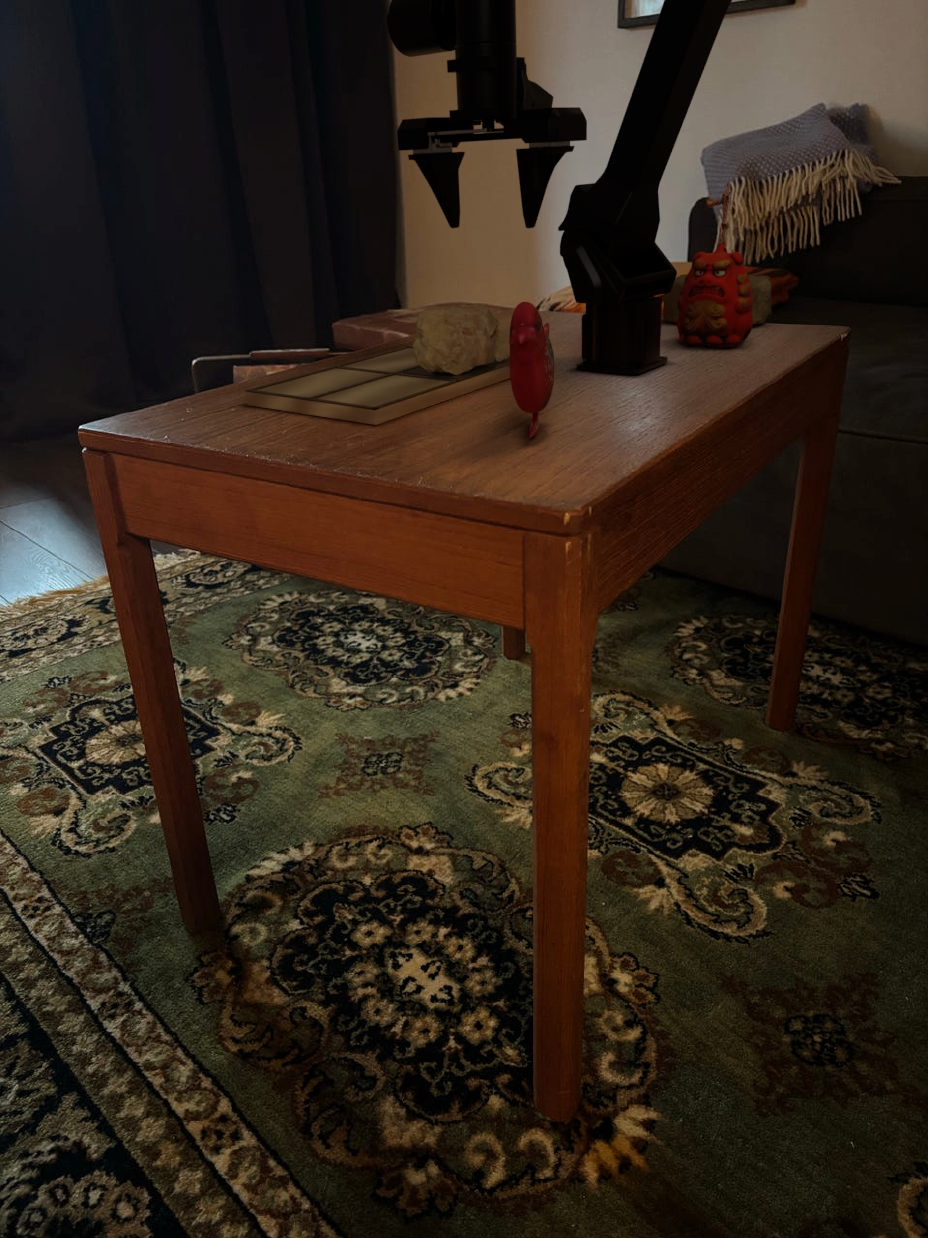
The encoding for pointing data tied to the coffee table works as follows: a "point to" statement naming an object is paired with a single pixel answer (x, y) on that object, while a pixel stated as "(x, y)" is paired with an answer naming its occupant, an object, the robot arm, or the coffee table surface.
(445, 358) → the stone tool
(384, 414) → the board
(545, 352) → the decorative bird figurine
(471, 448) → the coffee table surface
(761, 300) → the stone block
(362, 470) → the coffee table surface
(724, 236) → the red clay folk toy
